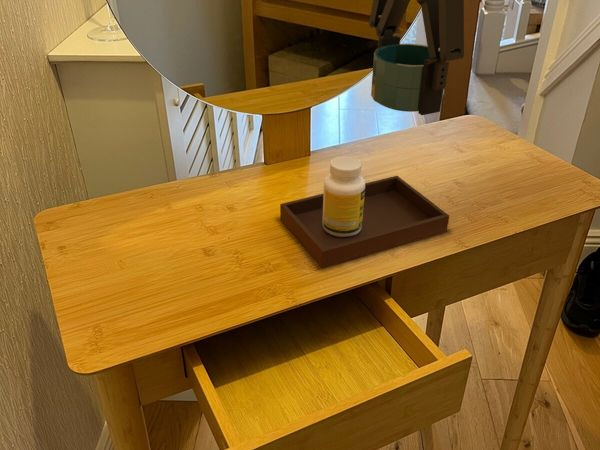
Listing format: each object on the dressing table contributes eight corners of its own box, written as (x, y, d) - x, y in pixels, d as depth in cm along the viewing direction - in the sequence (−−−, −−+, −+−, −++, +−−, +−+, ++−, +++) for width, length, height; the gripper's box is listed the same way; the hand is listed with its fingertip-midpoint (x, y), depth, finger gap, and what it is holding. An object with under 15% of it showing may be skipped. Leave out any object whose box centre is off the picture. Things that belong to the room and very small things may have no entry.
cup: (454, 98, 81) (461, 52, 78) (420, 120, 75) (426, 71, 72) (394, 83, 85) (398, 39, 82) (357, 102, 80) (360, 55, 76)
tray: (395, 190, 95) (397, 175, 93) (447, 231, 85) (449, 215, 84) (280, 219, 87) (280, 203, 86) (322, 268, 78) (322, 251, 76)
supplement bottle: (365, 237, 83) (370, 171, 77) (325, 239, 82) (327, 173, 77) (358, 215, 87) (362, 152, 82) (319, 217, 87) (321, 154, 81)
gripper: (347, -106, 75) (339, 76, 87) (462, -85, 58) (433, 136, 70) (400, -108, 77) (385, 69, 90) (524, -89, 61) (485, 125, 73)
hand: (406, 98), depth 80 cm, fingers closed on cup, 9 cm apart
